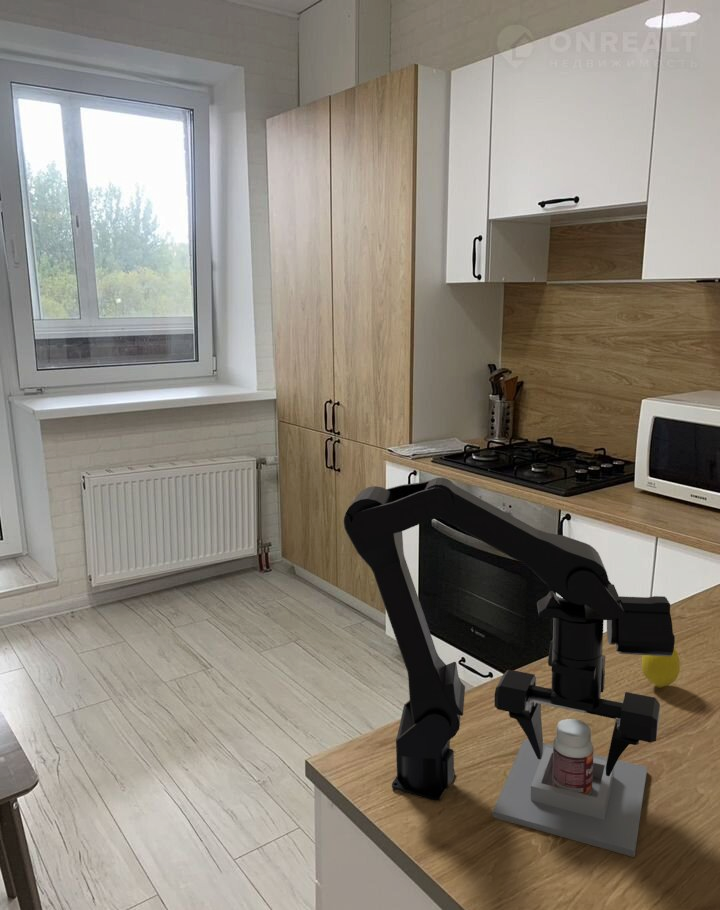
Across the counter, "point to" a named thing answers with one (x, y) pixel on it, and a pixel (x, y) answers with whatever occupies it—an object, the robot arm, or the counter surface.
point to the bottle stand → (575, 801)
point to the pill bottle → (573, 757)
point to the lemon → (661, 668)
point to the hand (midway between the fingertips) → (573, 765)
